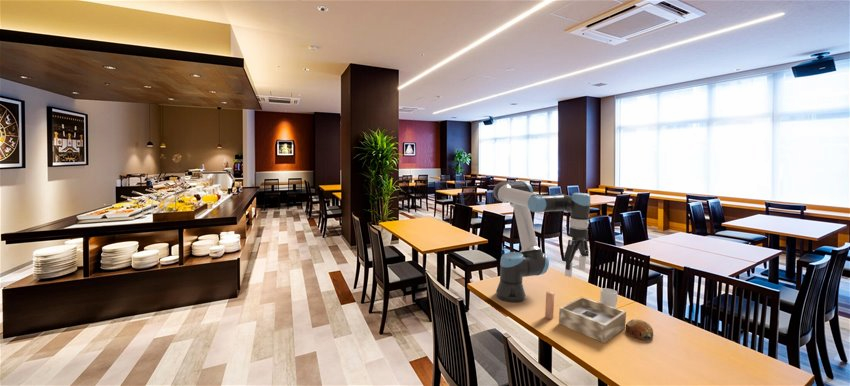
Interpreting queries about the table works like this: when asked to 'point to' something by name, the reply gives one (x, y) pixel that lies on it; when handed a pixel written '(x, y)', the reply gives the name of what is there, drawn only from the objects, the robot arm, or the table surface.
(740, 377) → the table surface
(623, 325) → the socket box
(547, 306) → the peg
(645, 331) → the bread roll
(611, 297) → the mug
